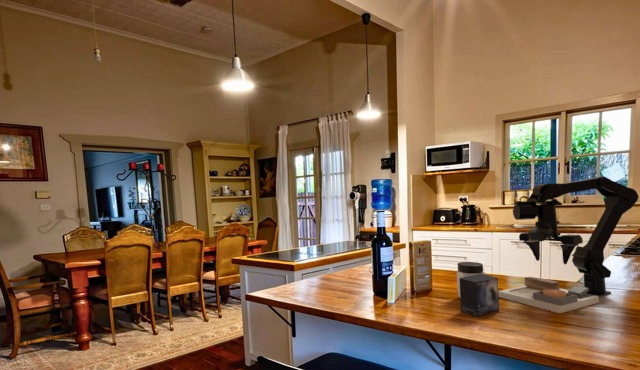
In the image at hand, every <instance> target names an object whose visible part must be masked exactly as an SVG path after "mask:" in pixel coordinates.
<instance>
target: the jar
mask: <svg viewBox="0 0 640 370" xmlns="http://www.w3.org/2000/svg"><path fill="white" fill-rule="evenodd" d="M477 274H485V275H486V273H485V271H484V265H483V263H480V262H478V261H476V262H475V261H461V262H457V270H456V281H457V282H456V283H457V295H458V296H457V297H458V298H459V299H460V280H459V278H461V277H466V276H472V275H477Z"/></svg>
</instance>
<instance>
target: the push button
mask: <svg viewBox="0 0 640 370" xmlns="http://www.w3.org/2000/svg"><path fill="white" fill-rule="evenodd" d="M543 294H544V295H548V296H553V297H557V298H561V297H565V296H566V292H565V291H562V290H557V289H544V290H543Z"/></svg>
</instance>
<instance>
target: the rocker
mask: <svg viewBox="0 0 640 370" xmlns="http://www.w3.org/2000/svg"><path fill="white" fill-rule="evenodd" d="M567 290H568V293H570V294H575V295H577V296H582V295H583V294H588V293H587V292H588V291H589V288H586V287H584V286H580V285H575V286H574V287H572V288H571V289H567Z"/></svg>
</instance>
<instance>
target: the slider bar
mask: <svg viewBox="0 0 640 370" xmlns="http://www.w3.org/2000/svg"><path fill="white" fill-rule="evenodd" d="M524 283H525V284H524V286H528V287H532V288H537V289H541V290H544V289H557V290H560V289H561V288H560V281H555V280H551V279H545V278H539V277H534V276H527V277H524ZM559 288H560V289H559Z"/></svg>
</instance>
